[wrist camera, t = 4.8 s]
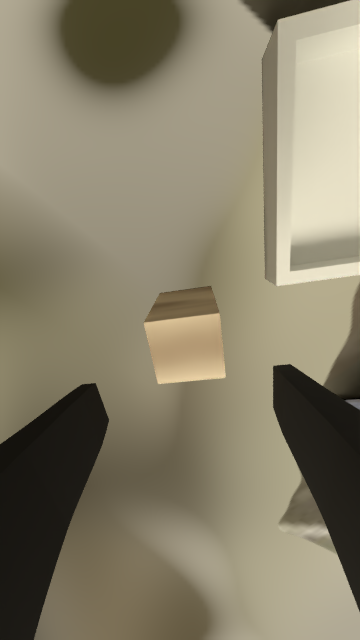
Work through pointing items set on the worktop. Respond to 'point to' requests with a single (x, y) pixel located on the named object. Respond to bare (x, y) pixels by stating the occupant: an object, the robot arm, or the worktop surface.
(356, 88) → the tray
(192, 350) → the wooden block
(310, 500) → the worktop surface
